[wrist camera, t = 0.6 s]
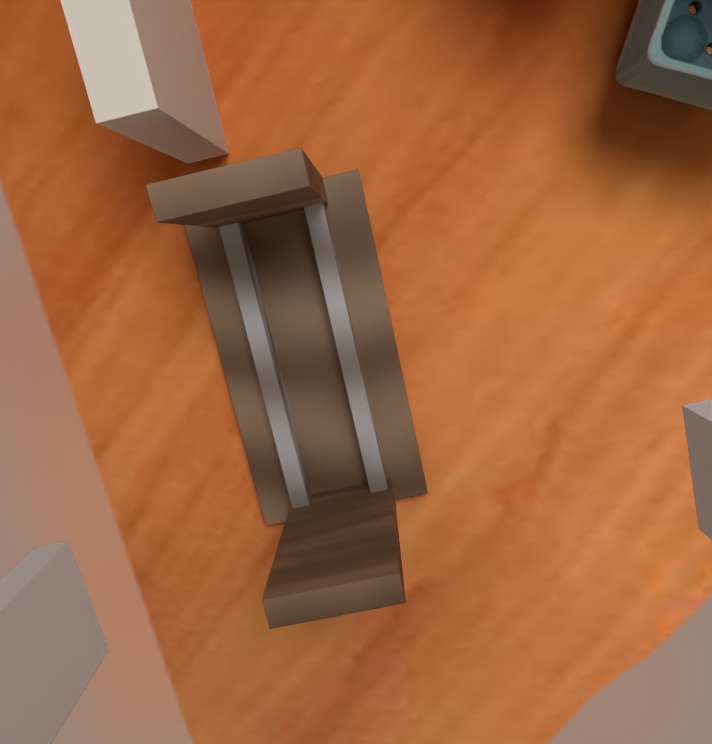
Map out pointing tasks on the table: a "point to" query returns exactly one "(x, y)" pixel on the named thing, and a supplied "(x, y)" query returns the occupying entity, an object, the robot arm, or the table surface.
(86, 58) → the door panel
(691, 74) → the flower pot
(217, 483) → the table surface
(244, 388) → the track
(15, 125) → the table surface
